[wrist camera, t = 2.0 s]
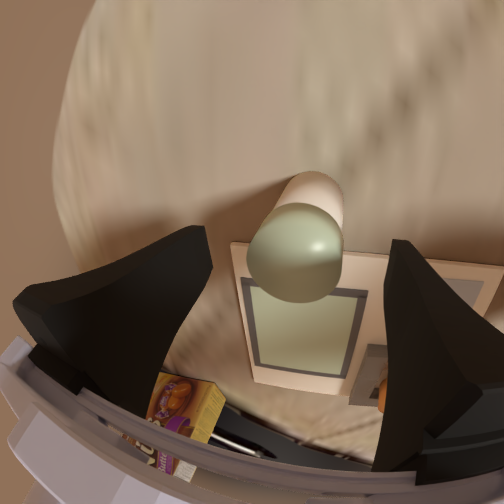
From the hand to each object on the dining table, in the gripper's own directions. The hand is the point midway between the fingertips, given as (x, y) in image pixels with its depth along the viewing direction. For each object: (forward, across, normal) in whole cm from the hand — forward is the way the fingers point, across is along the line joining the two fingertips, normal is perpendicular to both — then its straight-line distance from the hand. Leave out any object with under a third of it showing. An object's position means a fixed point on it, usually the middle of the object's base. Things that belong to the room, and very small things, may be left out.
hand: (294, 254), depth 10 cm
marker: (+5, 0, 0) cm, 5 cm away
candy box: (+6, +14, +25) cm, 29 cm away
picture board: (+5, -4, +11) cm, 13 cm away
